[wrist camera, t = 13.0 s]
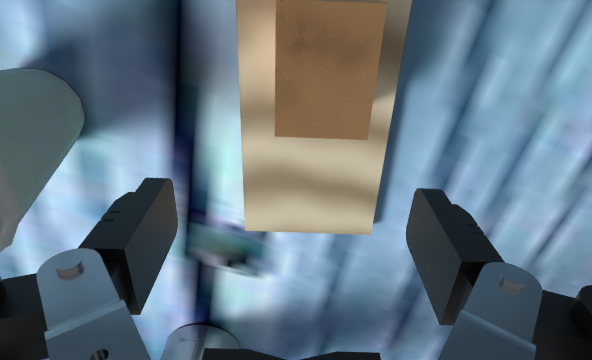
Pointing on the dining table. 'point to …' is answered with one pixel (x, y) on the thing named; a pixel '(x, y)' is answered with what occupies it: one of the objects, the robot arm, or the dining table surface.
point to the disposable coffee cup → (32, 139)
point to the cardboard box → (326, 67)
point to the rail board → (309, 151)
